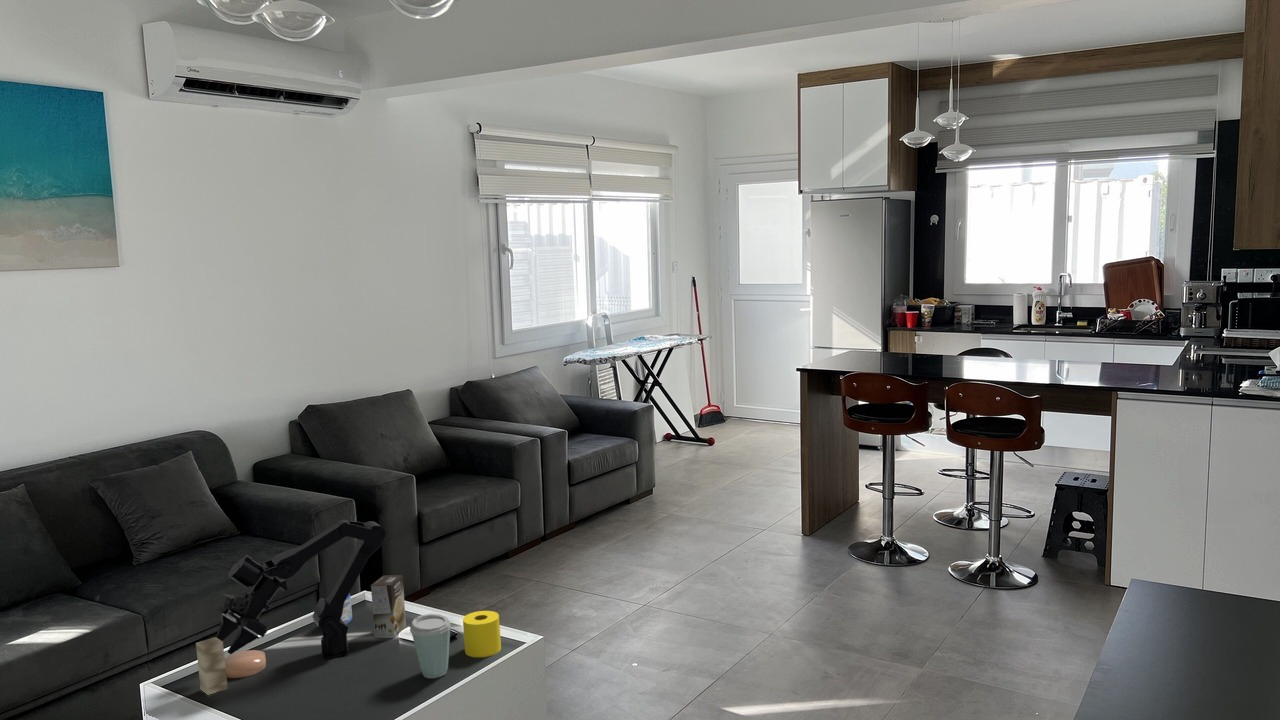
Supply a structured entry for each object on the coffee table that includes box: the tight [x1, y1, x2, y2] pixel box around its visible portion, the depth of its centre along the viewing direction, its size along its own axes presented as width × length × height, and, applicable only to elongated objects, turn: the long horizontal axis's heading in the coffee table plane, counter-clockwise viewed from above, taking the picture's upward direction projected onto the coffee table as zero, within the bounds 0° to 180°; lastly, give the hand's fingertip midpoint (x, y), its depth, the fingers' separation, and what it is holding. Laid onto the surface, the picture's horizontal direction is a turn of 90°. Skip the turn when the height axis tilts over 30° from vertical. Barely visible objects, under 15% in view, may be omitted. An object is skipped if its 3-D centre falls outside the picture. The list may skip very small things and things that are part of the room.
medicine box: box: [341, 593, 353, 625], centre depth 288 cm, size 8×4×9 cm, turn 168°
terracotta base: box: [225, 649, 267, 679], centre depth 259 cm, size 11×11×3 cm
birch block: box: [195, 636, 228, 696], centre depth 247 cm, size 5×5×13 cm
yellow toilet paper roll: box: [462, 610, 502, 658], centre depth 265 cm, size 10×10×9 cm
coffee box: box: [370, 574, 407, 639], centre depth 280 cm, size 9×6×16 cm
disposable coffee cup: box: [409, 613, 452, 679], centre depth 250 cm, size 11×11×15 cm
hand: (222, 648), depth 248 cm, fingers open, 9 cm apart
